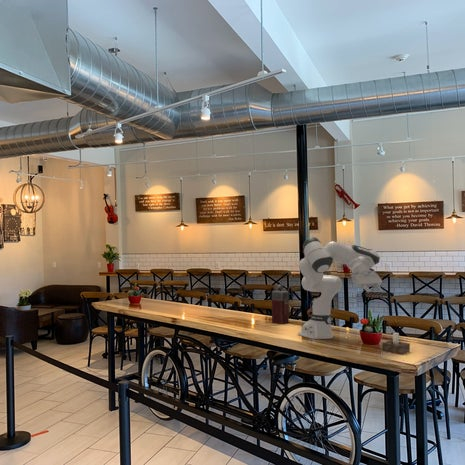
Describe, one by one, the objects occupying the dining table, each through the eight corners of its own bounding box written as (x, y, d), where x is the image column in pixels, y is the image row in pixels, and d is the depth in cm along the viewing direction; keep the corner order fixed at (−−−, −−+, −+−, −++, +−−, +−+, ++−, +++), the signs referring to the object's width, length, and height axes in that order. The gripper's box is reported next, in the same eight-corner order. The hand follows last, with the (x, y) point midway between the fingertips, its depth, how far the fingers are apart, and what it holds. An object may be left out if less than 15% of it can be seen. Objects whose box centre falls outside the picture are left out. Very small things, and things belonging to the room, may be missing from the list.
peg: (391, 351, 245) (391, 333, 246) (394, 350, 247) (394, 332, 248) (397, 352, 243) (397, 333, 243) (399, 351, 245) (399, 333, 245)
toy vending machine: (284, 324, 322) (284, 285, 322) (271, 322, 329) (271, 284, 330) (291, 323, 328) (291, 284, 329) (278, 321, 336) (278, 283, 336)
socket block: (382, 350, 246) (382, 342, 246) (390, 348, 253) (390, 340, 253) (401, 354, 238) (401, 346, 238) (409, 351, 245) (409, 343, 245)
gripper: (352, 270, 261) (365, 288, 252) (375, 269, 272) (389, 286, 263) (346, 277, 264) (359, 295, 256) (370, 275, 275) (383, 293, 267)
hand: (374, 291), depth 260 cm, fingers open, 8 cm apart
